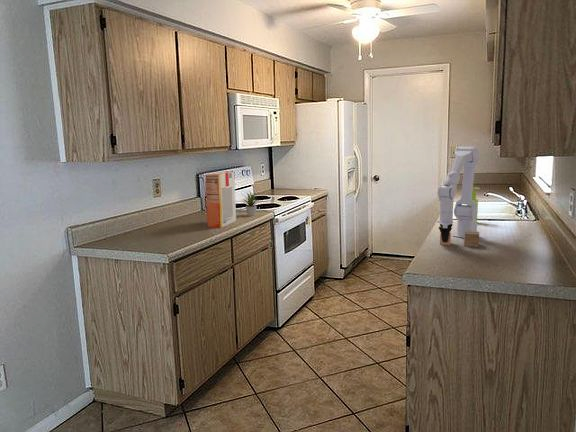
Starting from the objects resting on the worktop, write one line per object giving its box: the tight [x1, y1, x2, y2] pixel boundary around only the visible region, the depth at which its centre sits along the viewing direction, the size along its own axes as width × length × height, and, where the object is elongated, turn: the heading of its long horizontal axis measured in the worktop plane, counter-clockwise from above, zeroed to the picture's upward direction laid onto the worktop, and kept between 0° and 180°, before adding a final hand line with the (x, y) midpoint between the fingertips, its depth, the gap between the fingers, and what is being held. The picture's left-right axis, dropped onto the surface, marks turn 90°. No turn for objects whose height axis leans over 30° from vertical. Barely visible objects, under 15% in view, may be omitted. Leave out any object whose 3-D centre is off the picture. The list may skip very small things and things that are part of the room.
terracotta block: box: [439, 232, 452, 246], centre depth 223 cm, size 4×4×5 cm
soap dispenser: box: [468, 186, 481, 223], centre depth 272 cm, size 6×7×20 cm
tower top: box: [465, 231, 480, 242], centre depth 220 cm, size 6×6×3 cm
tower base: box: [463, 237, 480, 248], centre depth 220 cm, size 6×6×3 cm
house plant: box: [242, 191, 263, 217], centre depth 310 cm, size 14×14×16 cm
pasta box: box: [204, 170, 237, 229], centre depth 282 cm, size 23×8×30 cm, turn 164°
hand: (445, 240), depth 223 cm, fingers open, 6 cm apart
